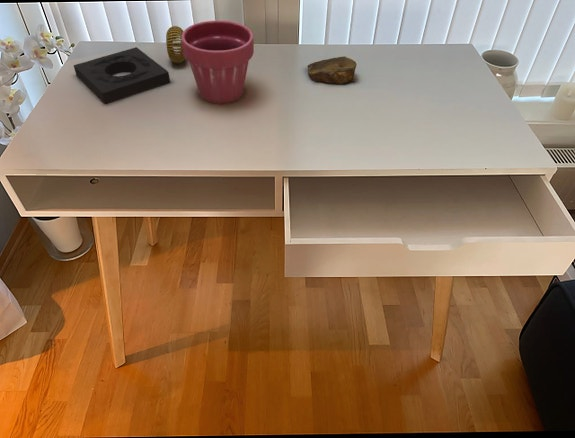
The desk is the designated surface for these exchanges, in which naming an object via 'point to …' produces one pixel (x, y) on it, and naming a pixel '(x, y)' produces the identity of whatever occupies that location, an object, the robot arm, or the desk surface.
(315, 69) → the decorative stone
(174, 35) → the sculpture
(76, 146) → the desk surface
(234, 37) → the flower pot
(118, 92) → the base pad
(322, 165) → the desk surface
